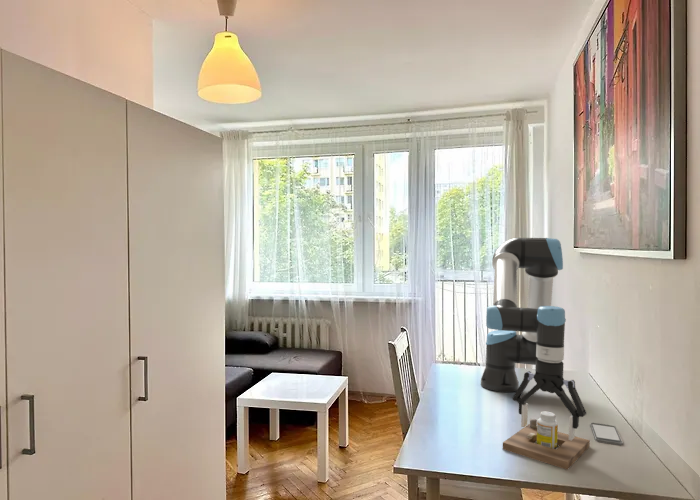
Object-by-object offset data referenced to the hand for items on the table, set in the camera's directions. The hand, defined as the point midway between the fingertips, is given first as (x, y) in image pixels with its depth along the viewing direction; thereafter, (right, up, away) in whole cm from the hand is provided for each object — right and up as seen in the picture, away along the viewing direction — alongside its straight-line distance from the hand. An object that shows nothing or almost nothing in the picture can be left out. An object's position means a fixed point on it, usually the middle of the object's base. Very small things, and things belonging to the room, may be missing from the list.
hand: (547, 432), depth 142 cm
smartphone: (+23, -6, +12) cm, 27 cm away
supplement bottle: (0, -5, 0) cm, 5 cm away
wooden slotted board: (0, -5, 0) cm, 5 cm away
